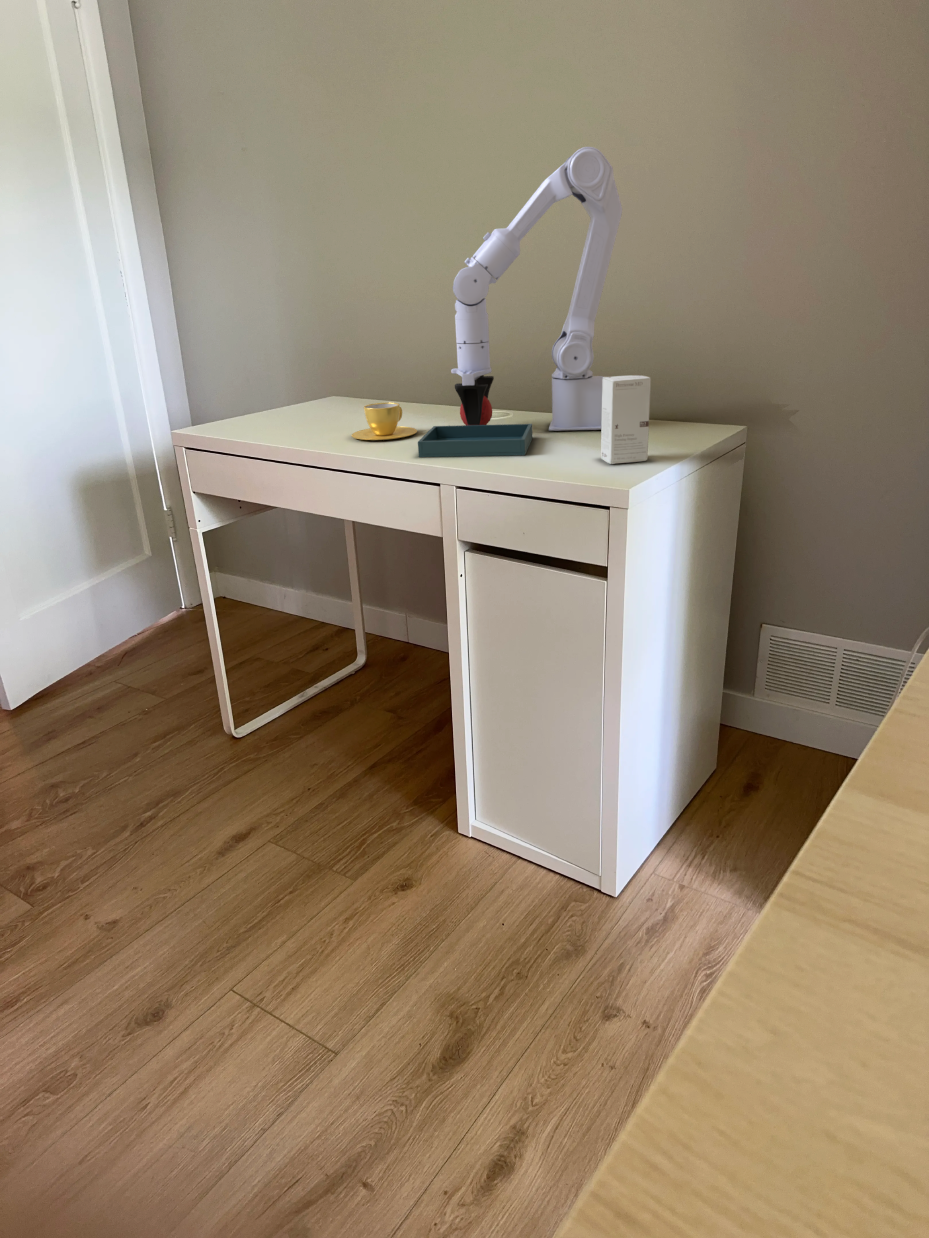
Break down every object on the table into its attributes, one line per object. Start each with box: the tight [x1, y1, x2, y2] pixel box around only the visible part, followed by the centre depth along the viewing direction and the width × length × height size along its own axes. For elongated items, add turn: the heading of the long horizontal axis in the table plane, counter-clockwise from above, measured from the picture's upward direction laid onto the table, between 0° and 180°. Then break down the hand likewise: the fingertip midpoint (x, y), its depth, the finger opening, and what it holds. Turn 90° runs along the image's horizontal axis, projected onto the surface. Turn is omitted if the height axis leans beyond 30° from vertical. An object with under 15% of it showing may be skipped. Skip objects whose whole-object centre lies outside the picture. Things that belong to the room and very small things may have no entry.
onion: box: [459, 396, 493, 425], centre depth 152 cm, size 6×6×8 cm
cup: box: [351, 402, 418, 441], centre depth 155 cm, size 12×12×5 cm
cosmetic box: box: [600, 374, 652, 465], centre depth 125 cm, size 6×4×12 cm
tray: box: [417, 423, 533, 458], centre depth 141 cm, size 17×13×2 cm
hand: (476, 421), depth 153 cm, fingers closed on onion, 6 cm apart
